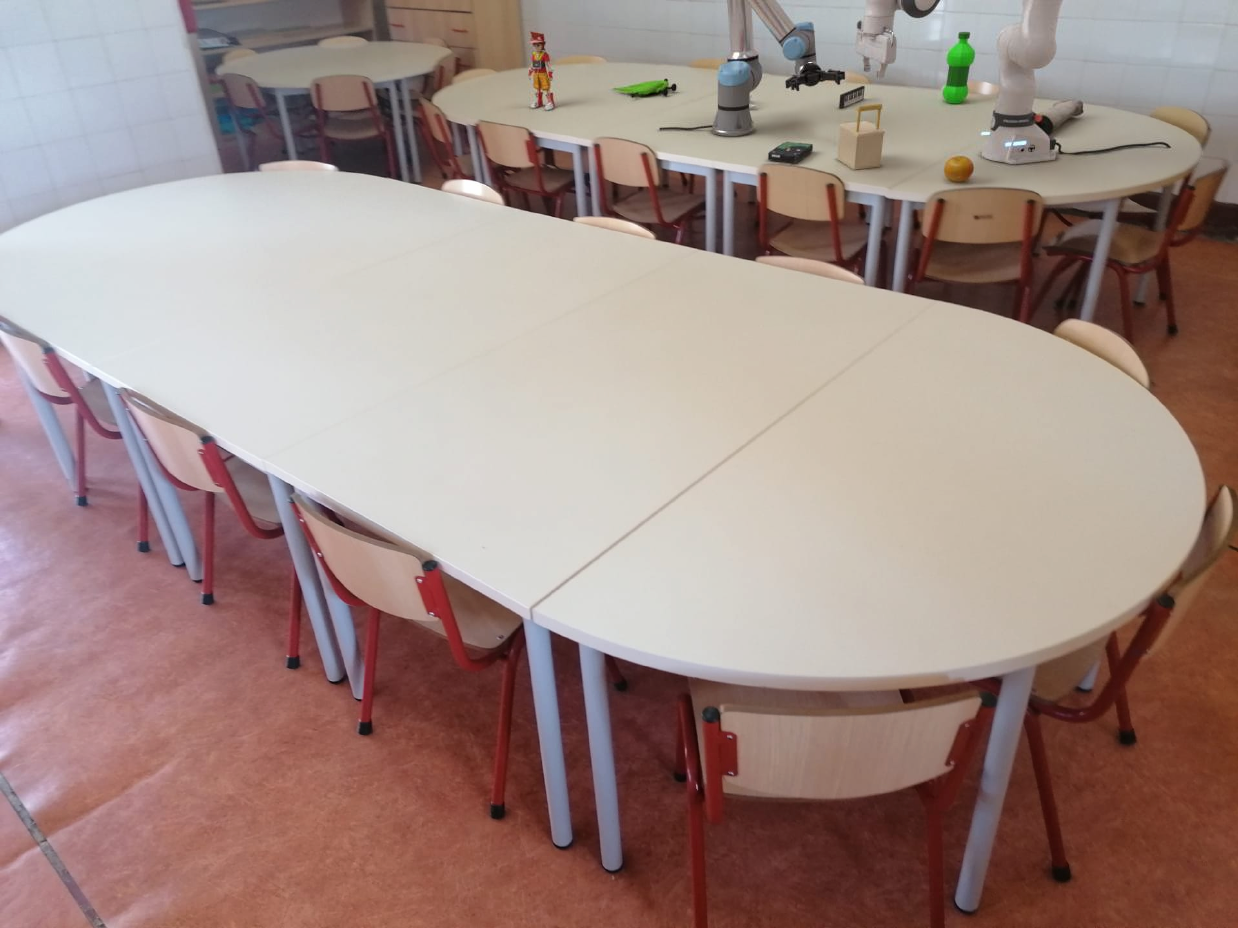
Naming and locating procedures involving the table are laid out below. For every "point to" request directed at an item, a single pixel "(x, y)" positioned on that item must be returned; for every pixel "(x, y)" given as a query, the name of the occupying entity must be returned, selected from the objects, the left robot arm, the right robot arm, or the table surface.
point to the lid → (865, 123)
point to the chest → (860, 150)
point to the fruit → (958, 168)
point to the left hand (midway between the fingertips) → (818, 83)
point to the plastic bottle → (958, 69)
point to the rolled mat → (1059, 114)
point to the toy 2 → (648, 88)
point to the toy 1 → (541, 71)
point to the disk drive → (790, 152)
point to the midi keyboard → (851, 96)
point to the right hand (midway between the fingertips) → (873, 74)
